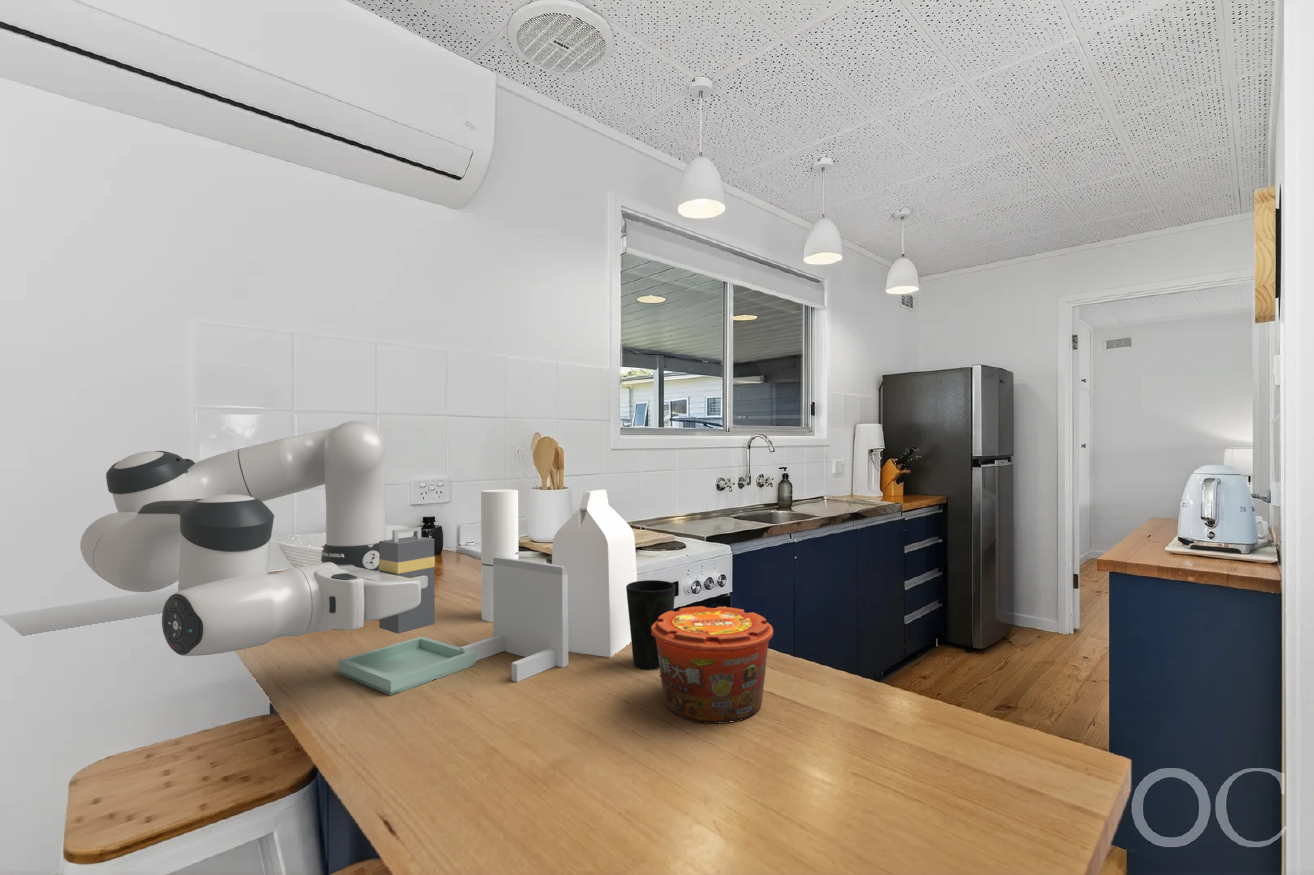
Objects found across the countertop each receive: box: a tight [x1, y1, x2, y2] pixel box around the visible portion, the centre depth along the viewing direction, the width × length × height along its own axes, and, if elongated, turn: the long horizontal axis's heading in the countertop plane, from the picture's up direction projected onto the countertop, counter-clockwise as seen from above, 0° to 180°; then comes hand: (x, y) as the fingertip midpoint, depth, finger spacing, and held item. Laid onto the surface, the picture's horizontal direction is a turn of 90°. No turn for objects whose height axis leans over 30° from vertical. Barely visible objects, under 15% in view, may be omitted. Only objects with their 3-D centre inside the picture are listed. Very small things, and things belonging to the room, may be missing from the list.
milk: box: [551, 489, 638, 658], centre depth 105 cm, size 12×12×26 cm
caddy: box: [378, 526, 436, 635], centre depth 93 cm, size 5×6×15 cm
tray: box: [337, 635, 477, 696], centre depth 93 cm, size 14×14×2 cm
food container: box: [651, 605, 774, 724], centre depth 80 cm, size 16×16×11 cm
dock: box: [460, 556, 569, 683], centre depth 95 cm, size 16×9×15 cm, turn 54°
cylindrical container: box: [480, 488, 519, 623], centre depth 121 cm, size 7×7×25 cm
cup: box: [626, 579, 676, 671], centre depth 95 cm, size 8×8×12 cm
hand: (412, 578), depth 93 cm, fingers closed on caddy, 5 cm apart
